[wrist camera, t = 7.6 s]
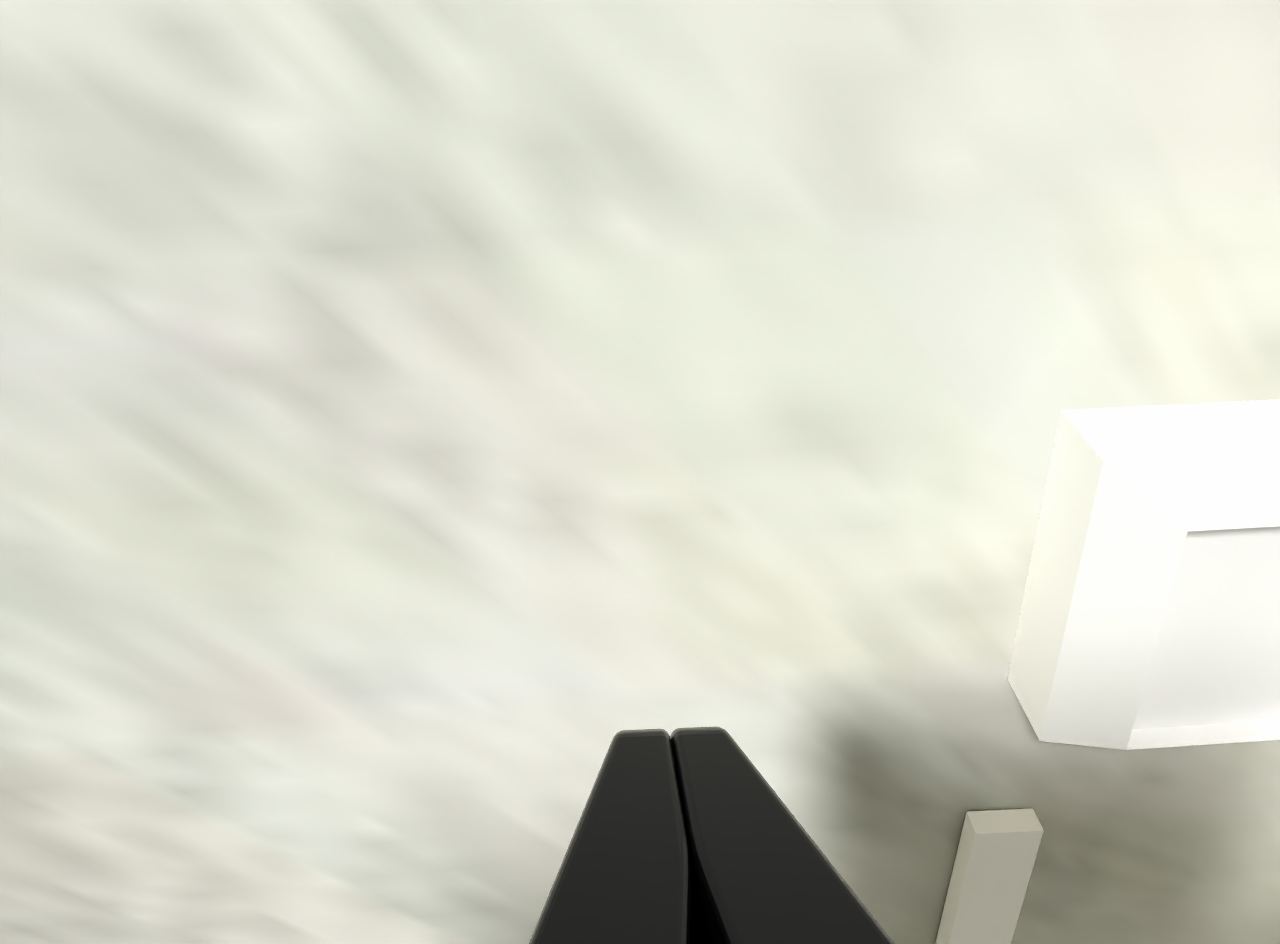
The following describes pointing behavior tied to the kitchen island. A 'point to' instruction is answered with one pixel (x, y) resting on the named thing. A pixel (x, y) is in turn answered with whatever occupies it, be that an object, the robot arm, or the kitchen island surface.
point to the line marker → (990, 876)
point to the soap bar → (1156, 579)
